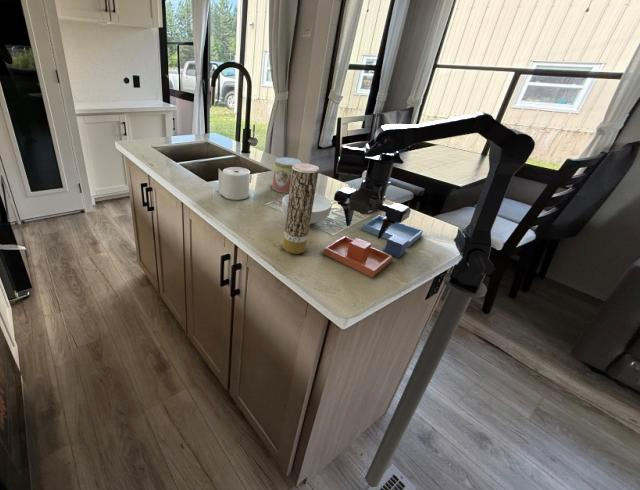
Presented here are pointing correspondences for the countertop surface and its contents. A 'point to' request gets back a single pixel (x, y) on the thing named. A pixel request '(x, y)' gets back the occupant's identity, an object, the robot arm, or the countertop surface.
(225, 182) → the toilet tissue
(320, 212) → the cereal bowl
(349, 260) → the clay tray
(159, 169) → the countertop surface
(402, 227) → the blue tray
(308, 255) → the countertop surface
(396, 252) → the blue block
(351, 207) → the robot arm
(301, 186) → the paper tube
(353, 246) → the clay block
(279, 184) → the canned food
